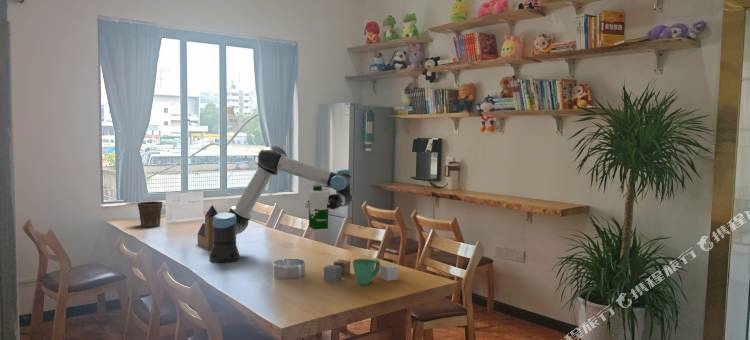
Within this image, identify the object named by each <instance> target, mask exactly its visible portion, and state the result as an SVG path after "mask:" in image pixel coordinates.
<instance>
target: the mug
mask: <svg viewBox="0 0 750 340" xmlns="http://www.w3.org/2000/svg"><path fill="white" fill-rule="evenodd" d="M380 265H381V263H380V261H379V260H378V259H369V258H357V259H353V260H352V266H353V271H354V276H355V279H356V282H357V284H358V285H360V286H367V285H369V284H370V282H371V281H372V280H373V279H374V278H375V277H376V275H377V274H378V272H380Z"/></svg>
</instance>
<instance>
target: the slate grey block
mask: <svg viewBox="0 0 750 340" xmlns="http://www.w3.org/2000/svg"><path fill="white" fill-rule="evenodd" d="M342 277H343V276H342V266H337V265H333V264H329V265H327V266H324V267H323V281H326V282H333V283H336V282H338V281H341V280H342V279H343V278H342Z"/></svg>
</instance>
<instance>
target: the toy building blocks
mask: <svg viewBox="0 0 750 340" xmlns="http://www.w3.org/2000/svg"><path fill="white" fill-rule="evenodd" d="M217 214H219V213H218V212H217V210H216V208H215V207H214V206H213V205H211V206H210V207H209V209H208V211H207V212H206V213H205V215H204V223H202V224H201V226H200V228H199V230H198V232H197V246H200V247H201V248H203V249H204V250H205V249H206V250H207V251H208V252H209V251H211V249H212V246H213V217H214V216H215V215H217Z"/></svg>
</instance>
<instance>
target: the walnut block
mask: <svg viewBox="0 0 750 340" xmlns="http://www.w3.org/2000/svg"><path fill="white" fill-rule="evenodd" d="M332 265H337V266H342V277H346V276H347V275H350V274H351V260H348V259H347V260H345V259H337V260H335V261H333V264H332Z"/></svg>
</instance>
